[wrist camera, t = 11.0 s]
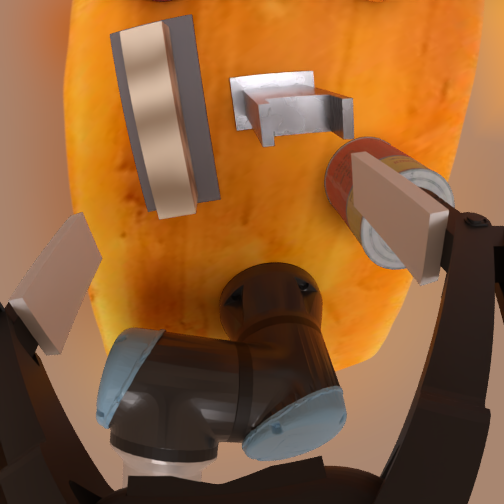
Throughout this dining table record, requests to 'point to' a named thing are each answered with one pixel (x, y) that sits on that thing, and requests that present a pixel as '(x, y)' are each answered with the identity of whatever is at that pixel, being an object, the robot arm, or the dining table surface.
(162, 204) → the rail
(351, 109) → the stand
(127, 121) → the mat
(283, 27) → the dining table surface
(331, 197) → the canned food
